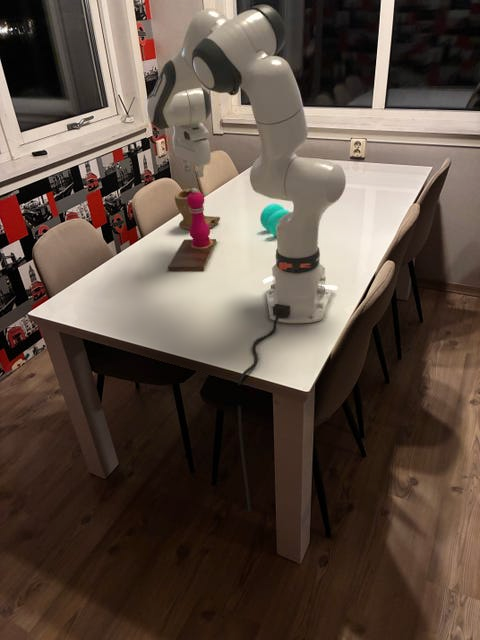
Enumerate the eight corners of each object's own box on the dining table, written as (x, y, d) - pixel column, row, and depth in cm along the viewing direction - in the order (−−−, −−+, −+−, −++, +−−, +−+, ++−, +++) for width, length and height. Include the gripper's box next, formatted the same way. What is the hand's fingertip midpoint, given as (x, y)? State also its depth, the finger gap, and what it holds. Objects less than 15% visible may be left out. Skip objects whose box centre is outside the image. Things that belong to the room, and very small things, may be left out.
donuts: (284, 225, 186) (283, 200, 180) (296, 234, 178) (295, 208, 172) (259, 231, 183) (258, 205, 178) (270, 240, 175) (269, 214, 170)
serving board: (203, 270, 160) (203, 265, 159) (168, 270, 162) (167, 266, 161) (216, 242, 178) (216, 238, 177) (184, 243, 180) (184, 238, 179)
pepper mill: (188, 242, 176) (180, 187, 165) (207, 237, 178) (200, 183, 167) (195, 249, 170) (186, 193, 159) (214, 244, 172) (207, 188, 161)
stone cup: (173, 231, 190) (167, 194, 182) (186, 220, 199) (181, 184, 191) (209, 234, 185) (204, 195, 177) (221, 222, 194) (217, 185, 186)
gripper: (165, 127, 160) (172, 169, 167) (193, 136, 144) (198, 182, 152) (183, 123, 162) (188, 166, 170) (211, 132, 147) (216, 178, 154)
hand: (193, 174), depth 161 cm, fingers open, 8 cm apart
